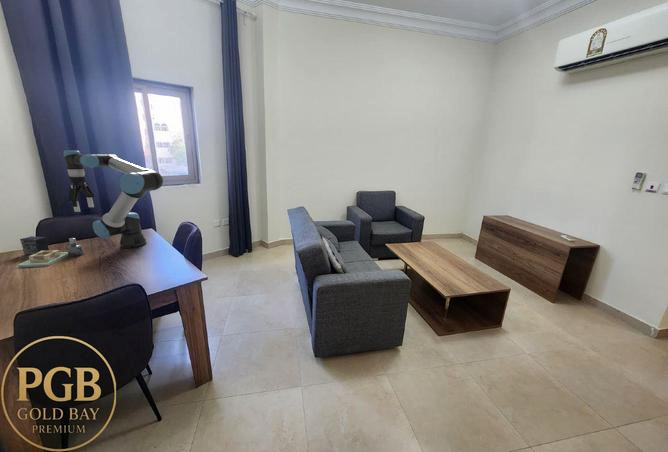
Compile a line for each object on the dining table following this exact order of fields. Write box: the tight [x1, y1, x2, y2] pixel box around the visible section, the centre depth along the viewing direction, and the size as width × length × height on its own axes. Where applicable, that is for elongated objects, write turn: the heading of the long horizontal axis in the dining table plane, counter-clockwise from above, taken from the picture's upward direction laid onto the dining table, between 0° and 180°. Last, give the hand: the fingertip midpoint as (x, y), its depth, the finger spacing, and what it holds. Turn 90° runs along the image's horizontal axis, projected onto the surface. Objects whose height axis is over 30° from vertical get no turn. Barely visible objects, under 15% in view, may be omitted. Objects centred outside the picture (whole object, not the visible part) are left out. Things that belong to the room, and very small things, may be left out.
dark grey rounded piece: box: [65, 237, 85, 258], centre depth 167 cm, size 7×7×11 cm
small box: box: [19, 235, 50, 256], centre depth 167 cm, size 11×6×10 cm, turn 84°
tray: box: [17, 251, 69, 268], centre depth 159 cm, size 14×18×2 cm
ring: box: [28, 249, 61, 263], centre depth 159 cm, size 9×9×4 cm
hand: (84, 209), depth 173 cm, fingers open, 13 cm apart
